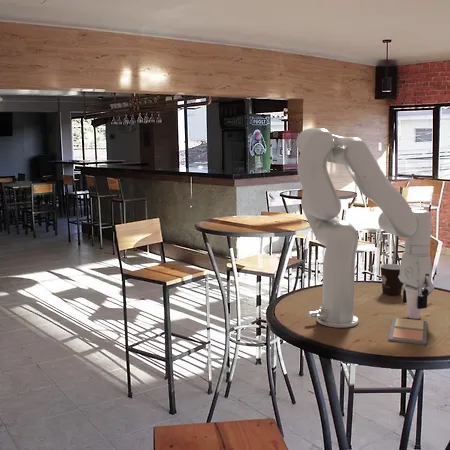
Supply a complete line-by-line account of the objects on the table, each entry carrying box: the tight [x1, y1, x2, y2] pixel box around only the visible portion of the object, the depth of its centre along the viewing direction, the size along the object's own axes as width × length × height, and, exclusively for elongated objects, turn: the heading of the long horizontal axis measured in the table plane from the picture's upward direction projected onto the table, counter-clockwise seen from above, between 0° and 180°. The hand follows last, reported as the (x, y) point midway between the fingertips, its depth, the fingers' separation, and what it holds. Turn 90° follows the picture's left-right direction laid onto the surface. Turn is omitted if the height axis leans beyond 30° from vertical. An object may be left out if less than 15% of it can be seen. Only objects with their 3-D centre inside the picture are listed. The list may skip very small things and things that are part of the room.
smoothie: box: [405, 285, 424, 320], centre depth 182 cm, size 6×6×14 cm
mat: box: [388, 317, 428, 346], centre depth 169 cm, size 20×10×1 cm, turn 160°
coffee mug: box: [380, 263, 403, 297], centre depth 208 cm, size 12×9×10 cm
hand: (414, 304), depth 182 cm, fingers closed on smoothie, 6 cm apart
